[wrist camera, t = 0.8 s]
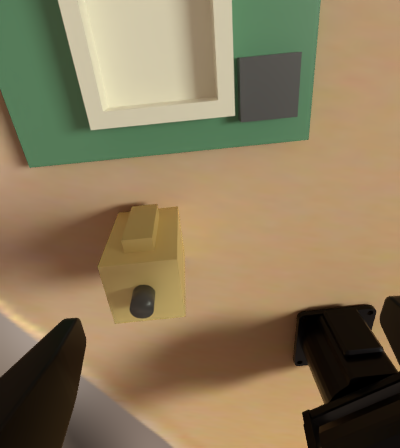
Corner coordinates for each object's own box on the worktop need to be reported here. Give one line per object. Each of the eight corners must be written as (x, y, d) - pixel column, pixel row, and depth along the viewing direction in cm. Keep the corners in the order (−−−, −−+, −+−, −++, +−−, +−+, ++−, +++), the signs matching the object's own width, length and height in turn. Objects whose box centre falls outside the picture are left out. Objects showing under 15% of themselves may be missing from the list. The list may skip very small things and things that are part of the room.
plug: (184, 255, 23) (185, 333, 16) (130, 260, 23) (110, 341, 16) (176, 195, 20) (174, 260, 14) (115, 201, 20) (86, 269, 14)
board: (301, 134, 19) (322, 149, 16) (38, 161, 19) (13, 180, 16) (323, -157, 13) (362, -214, 10) (-62, -121, 13) (-130, -169, 10)
